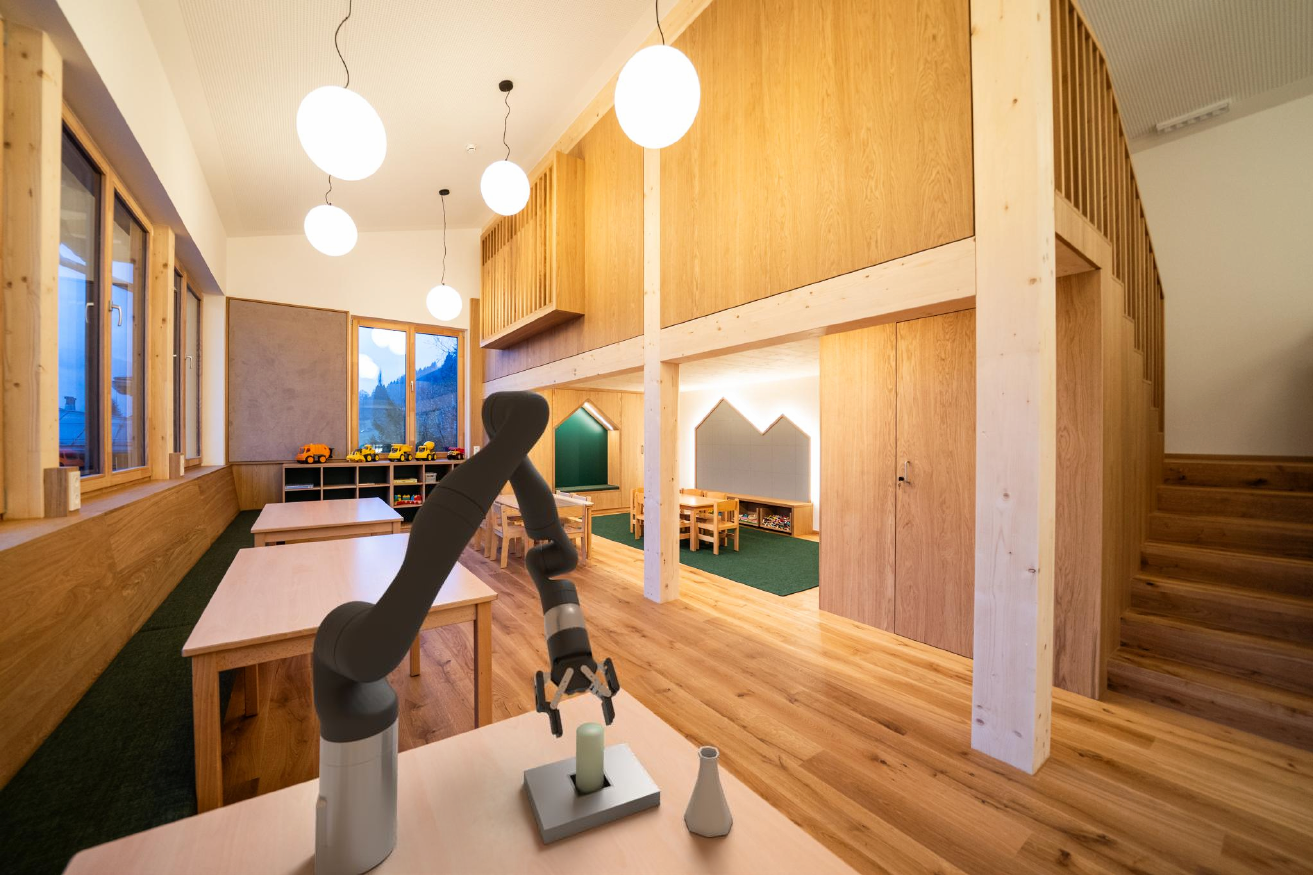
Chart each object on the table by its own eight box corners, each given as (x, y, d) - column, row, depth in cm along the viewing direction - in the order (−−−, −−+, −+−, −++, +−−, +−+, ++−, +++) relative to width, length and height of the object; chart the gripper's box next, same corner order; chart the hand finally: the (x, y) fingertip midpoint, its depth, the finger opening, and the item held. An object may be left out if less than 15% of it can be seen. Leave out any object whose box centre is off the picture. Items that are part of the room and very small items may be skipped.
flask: (731, 804, 77) (732, 739, 77) (734, 841, 70) (734, 769, 70) (685, 800, 78) (685, 736, 78) (682, 837, 71) (683, 765, 71)
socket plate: (544, 844, 69) (544, 830, 69) (523, 783, 81) (523, 770, 82) (660, 803, 77) (660, 790, 77) (625, 753, 90) (625, 742, 90)
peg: (580, 806, 76) (581, 740, 76) (572, 788, 80) (572, 726, 80) (607, 797, 78) (608, 733, 78) (598, 780, 82) (598, 719, 82)
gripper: (531, 631, 86) (546, 732, 76) (608, 619, 93) (632, 711, 82) (524, 651, 91) (538, 748, 81) (598, 638, 97) (619, 727, 87)
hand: (585, 729), depth 81 cm, fingers open, 8 cm apart
